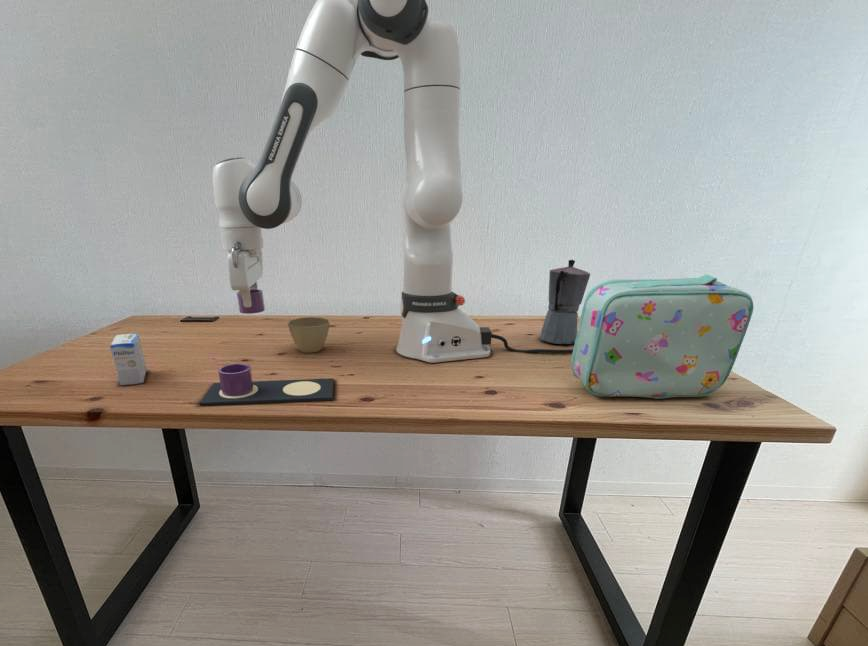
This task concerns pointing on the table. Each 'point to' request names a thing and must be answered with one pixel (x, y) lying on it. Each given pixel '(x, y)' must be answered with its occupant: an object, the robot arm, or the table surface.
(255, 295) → the purple cup
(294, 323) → the flower pot
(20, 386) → the table surface
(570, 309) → the moka pot
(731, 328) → the lunch box
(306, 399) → the mat
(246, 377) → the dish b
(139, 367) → the medicine box
